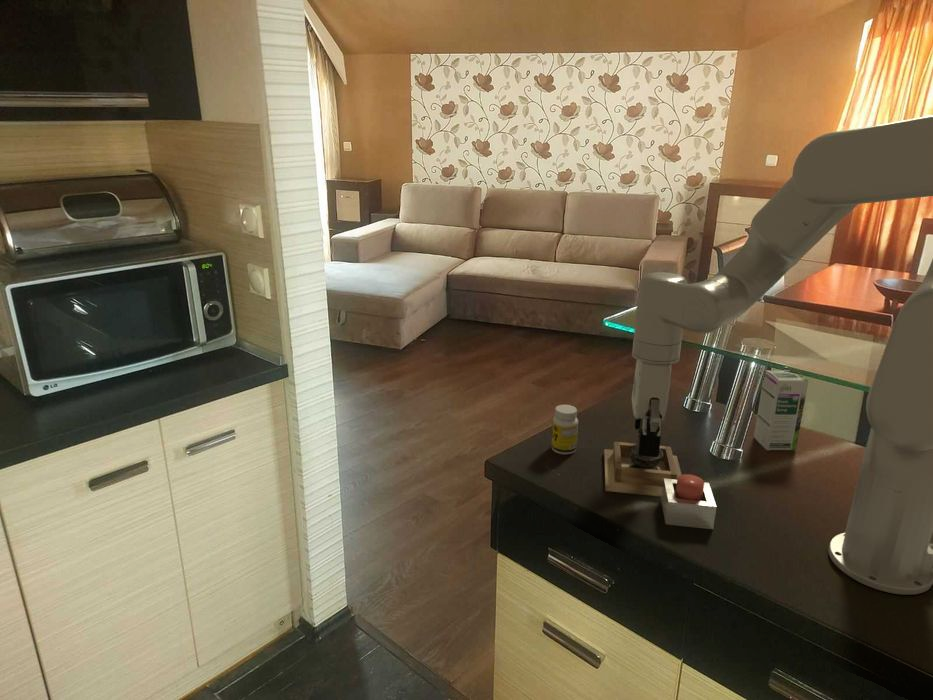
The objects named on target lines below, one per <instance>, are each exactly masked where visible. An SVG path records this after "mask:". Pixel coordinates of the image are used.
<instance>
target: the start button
mask: <svg viewBox="0 0 933 700" xmlns="http://www.w3.org/2000/svg"><path fill="white" fill-rule="evenodd" d="M704 482H705V481H704V479H702V478H701V477H699V476H697V475H695V474H689V473H688V474H685V473H683V474H681V475H680V476H679V477H678V478H677V485H676V493H675V497H676V499H685V500H695V501H702V496H703V489H704Z"/></svg>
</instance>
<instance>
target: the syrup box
mask: <svg viewBox="0 0 933 700" xmlns="http://www.w3.org/2000/svg"><path fill="white" fill-rule="evenodd" d="M765 371H766V373H765V377H764V376H763V377H764V380H763V379H762V385H761V390H760V397H759V403H758V404H759V405H758V409H757V415H756V420H755V421H756V423H755V428H754V435H753V438H754V439H755V440H756V441H757V442H758V443H759V444H760V445H761V447H762V448H764V450H766V451H768V452H769V451H796V450H797V444H798V439H799V433H800V429H801V423H802V419H803V415H804V414H803V412H804V410H805V409H804V408H805V402H806V397H807V392H808V386H809V380H808V378H807V377H805V376H804V375H802V374H801V375H802V376H801V375H797V374H793V373H789V372H784V371H785V370H770V369H769V370H765Z"/></svg>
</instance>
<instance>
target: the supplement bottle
mask: <svg viewBox="0 0 933 700" xmlns="http://www.w3.org/2000/svg"><path fill="white" fill-rule="evenodd" d="M554 410H555V411H554V416H553V418H552V426H551V427H552V428H551V443H550V444H551V446H550V447H551V450H552V451H553V452H555V453H556V454H559V455H570V454H573V453H575V452H577V445H578V433H579V432H578V431H579V430H578V429H579V419H578V418H577V416H578V409H577V407H575V406H574V405H570V404H559V405H557V406H556V407H555V409H554Z"/></svg>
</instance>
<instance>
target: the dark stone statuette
mask: <svg viewBox="0 0 933 700" xmlns="http://www.w3.org/2000/svg"><path fill="white" fill-rule="evenodd" d="M646 416H650V414H646ZM648 424H650V421H647V426H648ZM642 431H643V419H641V421H640V429H638V430H637V429H636V433H637V435H638V437H637V438H638V439H637V443H635V444H636V445H633V446H631V447H630V448H629V450H628V452H629V454H630V458H631V461H632V462H633V463H632V464H630V465H629V467H631V468H642V469H653V470H659V469H658V468H657V467H656V466H657V465H658V464H659V462H660V460H661V458H662V457H663V452H662V451H661V450H660V449H659V456H658V457H649V456H640V455H639V453H638V451H639V442H640V433H642Z"/></svg>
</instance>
